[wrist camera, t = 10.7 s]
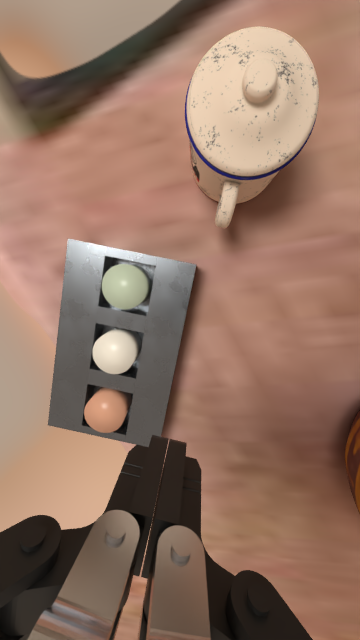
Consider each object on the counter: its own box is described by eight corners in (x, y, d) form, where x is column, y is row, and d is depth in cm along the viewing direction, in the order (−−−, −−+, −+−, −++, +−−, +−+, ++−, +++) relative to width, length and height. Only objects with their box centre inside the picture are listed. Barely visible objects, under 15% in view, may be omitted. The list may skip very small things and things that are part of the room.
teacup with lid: (198, 101, 26) (200, -37, 14) (290, 118, 25) (367, -7, 14) (175, 226, 28) (160, 196, 16) (258, 243, 28) (302, 224, 16)
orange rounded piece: (98, 378, 31) (86, 391, 28) (134, 386, 31) (127, 400, 28) (94, 411, 32) (81, 428, 29) (128, 418, 32) (120, 436, 28)
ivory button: (107, 322, 30) (95, 329, 26) (144, 330, 30) (137, 338, 26) (101, 358, 31) (89, 369, 27) (138, 366, 31) (130, 378, 27)
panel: (81, 241, 29) (68, 238, 26) (196, 265, 28) (196, 264, 25) (61, 411, 33) (47, 425, 30) (161, 433, 33) (158, 449, 30)
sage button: (116, 261, 28) (104, 260, 25) (155, 269, 28) (149, 269, 25) (110, 300, 29) (99, 304, 26) (148, 308, 29) (141, 313, 26)
